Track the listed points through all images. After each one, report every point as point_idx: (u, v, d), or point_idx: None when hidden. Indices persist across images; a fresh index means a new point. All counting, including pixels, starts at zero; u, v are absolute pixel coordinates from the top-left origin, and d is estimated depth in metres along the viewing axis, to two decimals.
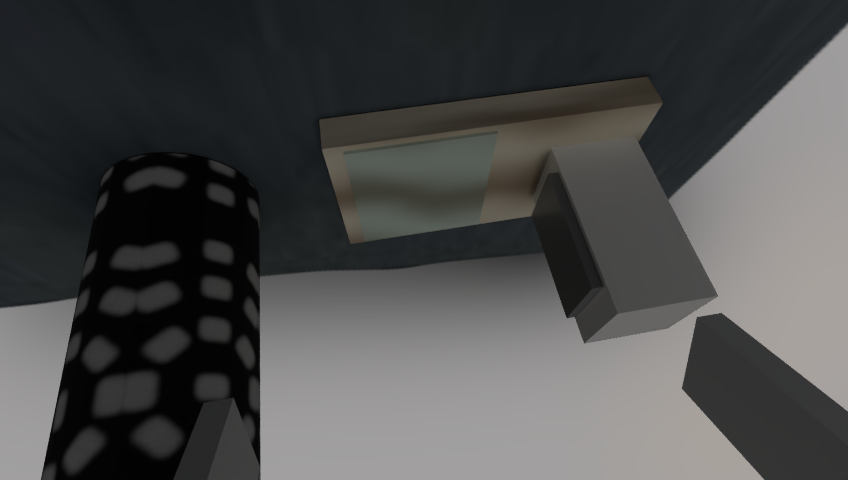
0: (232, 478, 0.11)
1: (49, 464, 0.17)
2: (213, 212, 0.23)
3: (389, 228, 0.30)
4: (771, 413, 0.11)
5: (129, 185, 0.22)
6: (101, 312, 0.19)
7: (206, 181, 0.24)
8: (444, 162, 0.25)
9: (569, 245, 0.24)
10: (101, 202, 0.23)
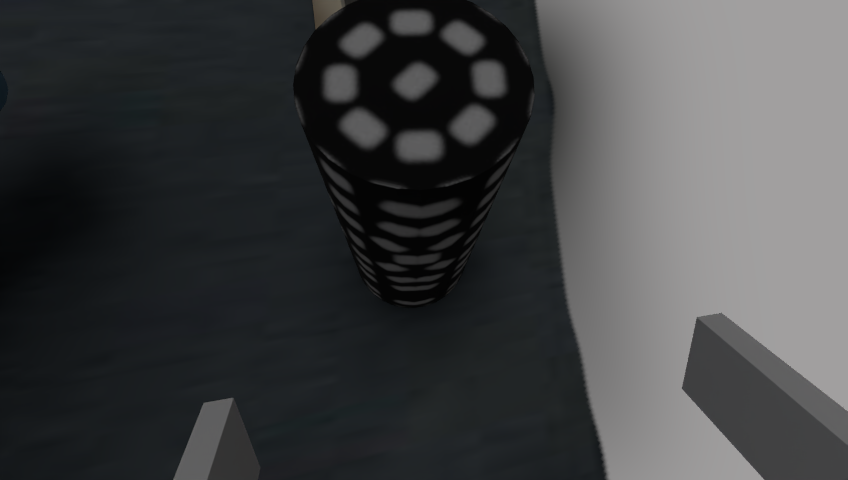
0: (232, 478, 0.11)
1: (348, 223, 0.20)
2: None
3: None
4: (771, 414, 0.11)
5: None
6: None
7: None
8: None
9: None
10: (369, 285, 0.31)
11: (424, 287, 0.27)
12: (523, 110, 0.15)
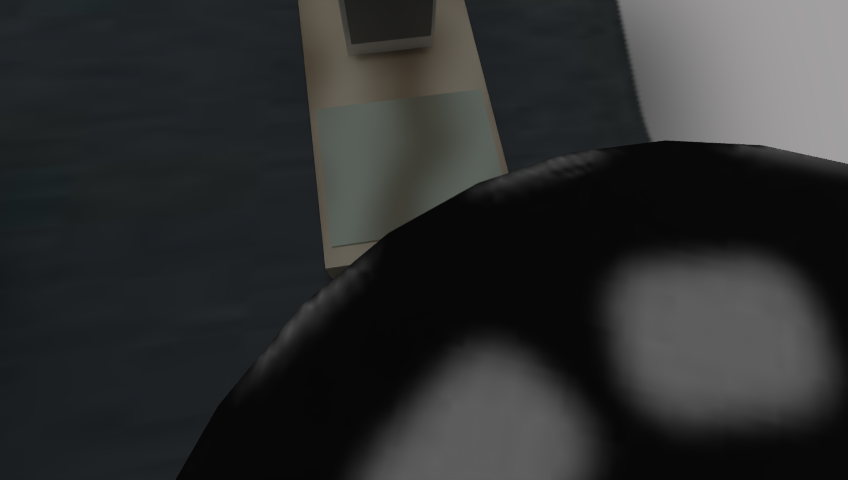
0: None
1: None
2: None
3: None
4: None
5: None
6: None
7: None
8: (355, 148, 0.24)
9: None
10: None
11: None
12: None
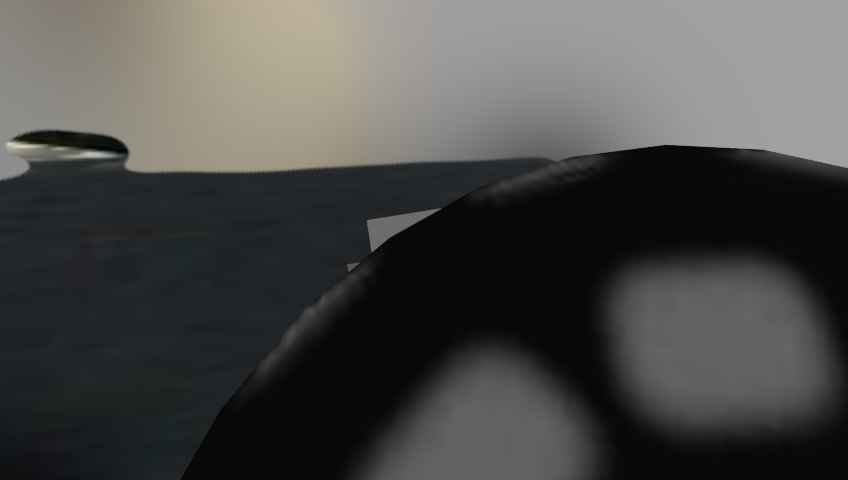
0: None
1: None
2: None
3: None
4: None
5: None
6: None
7: None
8: None
9: None
10: None
11: None
12: None
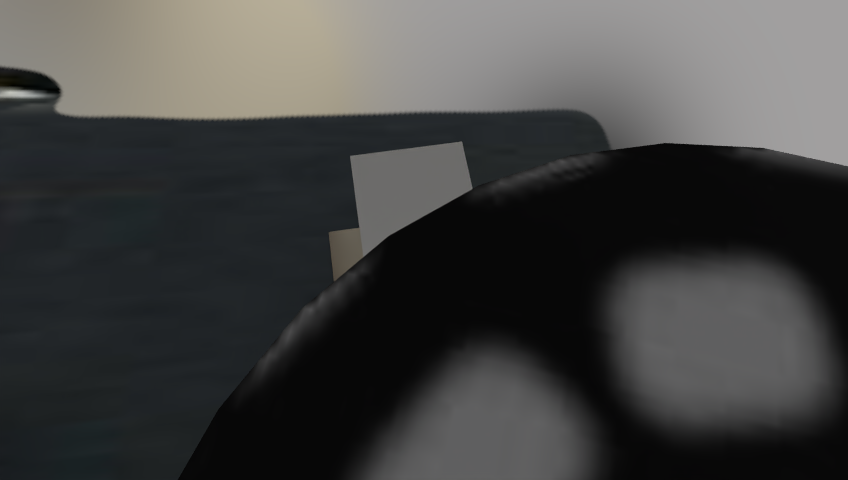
0: None
1: None
2: None
3: None
4: None
5: None
6: None
7: None
8: None
9: None
10: None
11: None
12: None
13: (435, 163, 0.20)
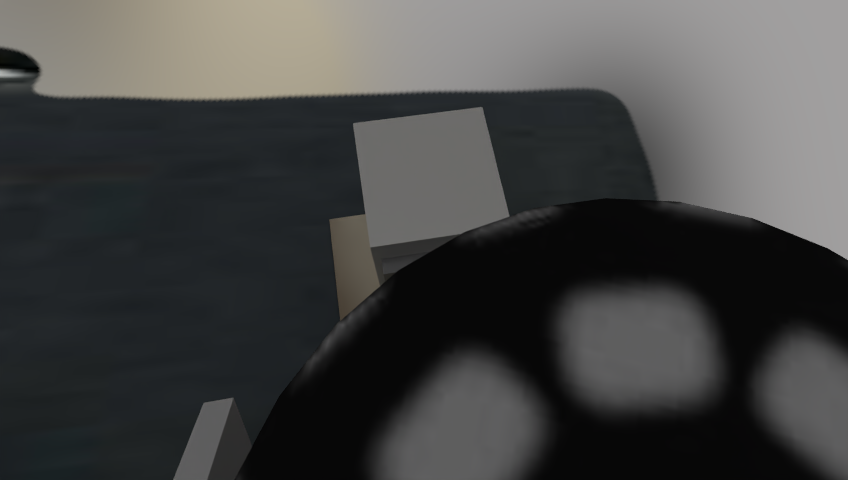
0: (232, 478, 0.11)
1: None
2: None
3: None
4: None
5: None
6: None
7: None
8: None
9: None
10: None
11: None
12: None
13: (452, 131, 0.17)
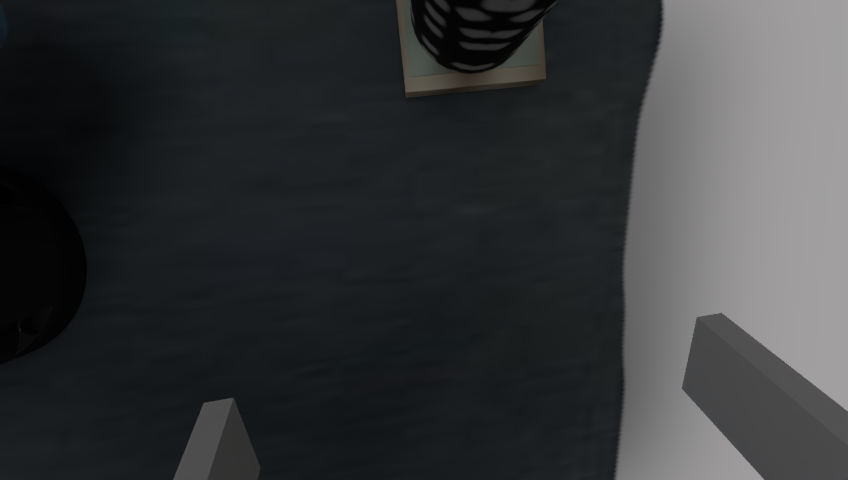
0: (232, 478, 0.11)
1: None
2: None
3: None
4: (771, 413, 0.11)
5: (413, 17, 0.29)
6: None
7: None
8: None
9: None
10: (427, 43, 0.29)
11: (494, 46, 0.25)
12: None
13: None
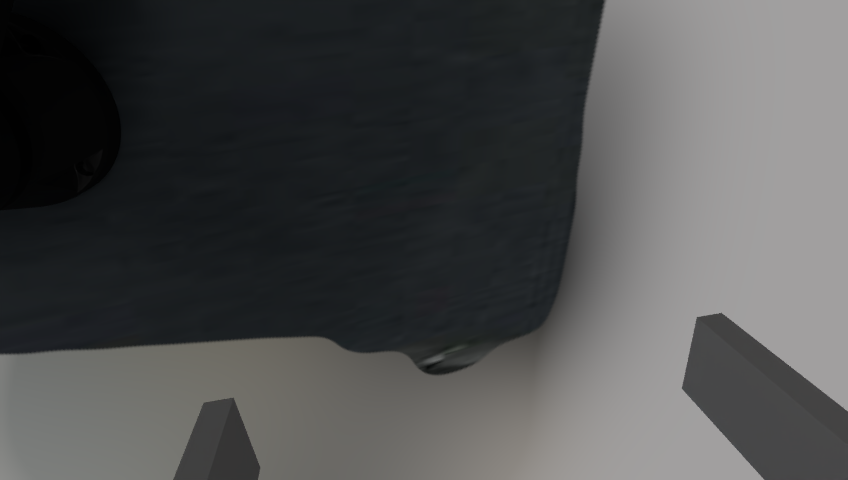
0: (232, 478, 0.11)
1: None
2: None
3: None
4: (771, 414, 0.11)
5: None
6: None
7: None
8: None
9: None
10: None
11: None
12: None
13: None
